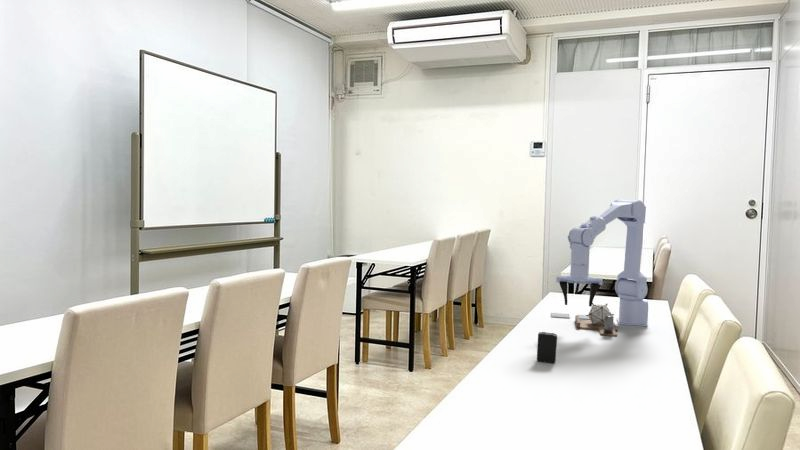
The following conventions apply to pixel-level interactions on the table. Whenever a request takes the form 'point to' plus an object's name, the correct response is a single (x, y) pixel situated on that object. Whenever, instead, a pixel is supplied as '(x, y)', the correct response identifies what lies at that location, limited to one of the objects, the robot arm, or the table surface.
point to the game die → (598, 314)
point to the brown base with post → (605, 330)
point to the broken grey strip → (560, 315)
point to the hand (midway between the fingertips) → (578, 305)
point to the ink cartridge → (546, 347)
